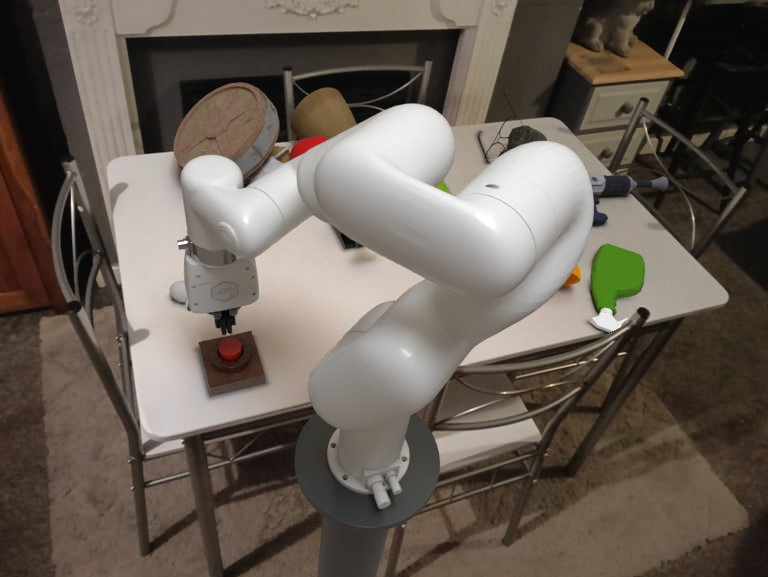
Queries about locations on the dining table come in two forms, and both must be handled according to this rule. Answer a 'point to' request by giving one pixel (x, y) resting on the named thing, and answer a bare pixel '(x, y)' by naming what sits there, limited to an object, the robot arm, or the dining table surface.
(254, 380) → the button block
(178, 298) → the egg
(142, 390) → the dining table surface
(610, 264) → the spray bottle
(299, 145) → the tomato
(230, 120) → the landmine
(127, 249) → the dining table surface
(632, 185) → the toy gun
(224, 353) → the button
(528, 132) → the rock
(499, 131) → the glasses
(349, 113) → the plant pot
